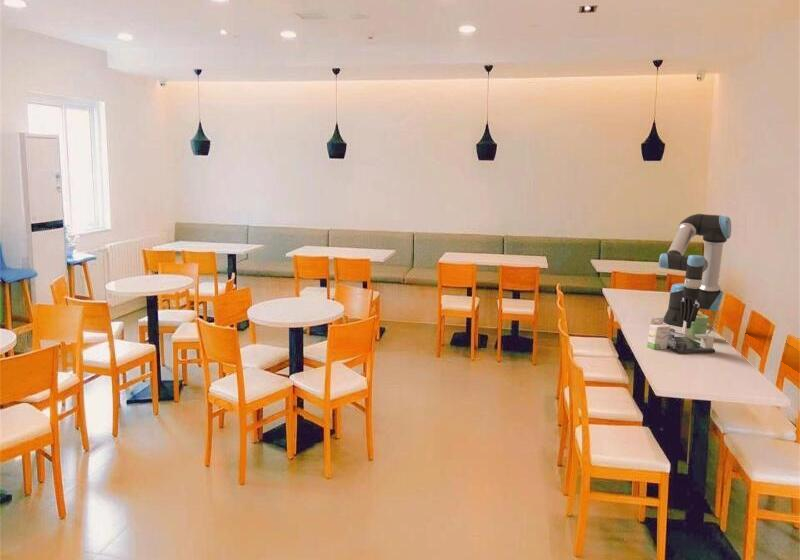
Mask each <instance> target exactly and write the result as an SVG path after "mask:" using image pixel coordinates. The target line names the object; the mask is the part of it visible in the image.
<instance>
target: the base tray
mask: <svg viewBox="0 0 800 560" xmlns="http://www.w3.org/2000/svg"><path fill="white" fill-rule="evenodd" d="M669 331H672V332H676V329H674V328H671V327H670V330H669ZM669 337H676V335H672V334H669ZM683 338H685V339H687V340H689V343H685V344H684V346H674V345H672V344H670V343H668V344H667V348H666V349H668V350H670V351H672V352H674V353H676V354H678V355H689V354H690V355H691V354H694V355H695V354H697V355H698V354H716V349H715V348H707V349H705V348H703V347H700V343H701V342H698V341H697V340H694V339H690V338H686V337H683Z"/></svg>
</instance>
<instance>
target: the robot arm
mask: <svg viewBox="0 0 800 560" xmlns="http://www.w3.org/2000/svg"><path fill="white" fill-rule="evenodd" d="M695 236H699V237H702V240H703V242H704V243H705V244H704V254H703V255H698V254H690V255H688V256H687V255H685V252H686V251H687V248H688V246H689V244H690V242H691V240H692V238H694V237H695ZM731 237H732V220H731V218H730V217H729V216H725V215H721V214H720V215H718V214H704V213H696V214H695V213H694V214H692V215H689V216H687V217H686V218H685V219H683V220H682V221H680V223H679V224H678V226H677V228H676V234H675V236H674V239H673V241H672V243H671V245H670V247H669V249H668V250H667V253H661V254H660V255H659V259H658V266H659V268H662V269H665V270H674V271H675V270H676V271H681V272H685V276H684V282H680V283H674V284H672V285H671V287H670V292H669V300H668V308H667V311H666V312H665V315H664V316H663V318H664V320H663V323H664V324H666V325H672V326H677V327H682V331H681V333H682V334H684V335H689V332H690V328H691V322H695V320H696V316H697V313H698V314H699V310H704V311H713V312H716V311H718V310H719V307H720V305H721V303H722V299H723V295H724V291H723V290H721V286H720V285H719V279H720V271H721V265H722V263H721V262H722V255H723V247H724V244H725V243H726V242H727V240H728V239H730V238H731Z"/></svg>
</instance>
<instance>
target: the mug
mask: <svg viewBox="0 0 800 560" xmlns="http://www.w3.org/2000/svg"><path fill="white" fill-rule="evenodd" d="M711 322H712V321H710V320H709V316H708V315H706V314H703V313H699V312H698V313H697V316H696V320H695V322H691V328H690V332H689V335H692V336H694V338H690V339H692V340H694V341H701V338H698V337H696V336H695V335H697V334H710V333H711V332H712V330H713V326H712V325H713V324H712V323H711ZM708 323H709V325H710V330H709V331H708V332H707V329H708Z"/></svg>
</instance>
